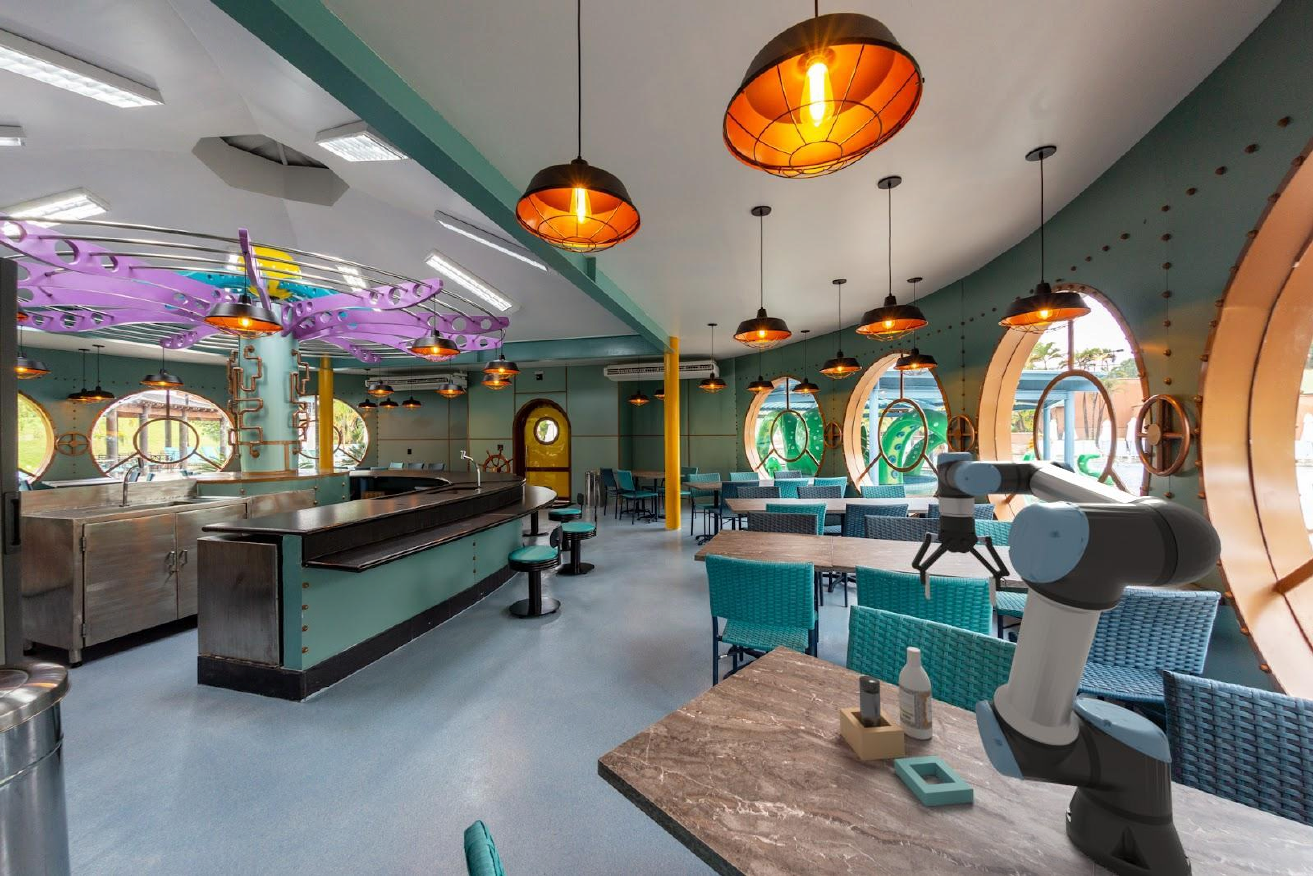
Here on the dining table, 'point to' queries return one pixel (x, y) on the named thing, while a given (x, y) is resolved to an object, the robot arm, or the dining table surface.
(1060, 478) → the robot arm
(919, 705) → the bath foam
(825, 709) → the dining table surface
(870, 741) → the socket
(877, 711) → the pin
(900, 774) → the mount
